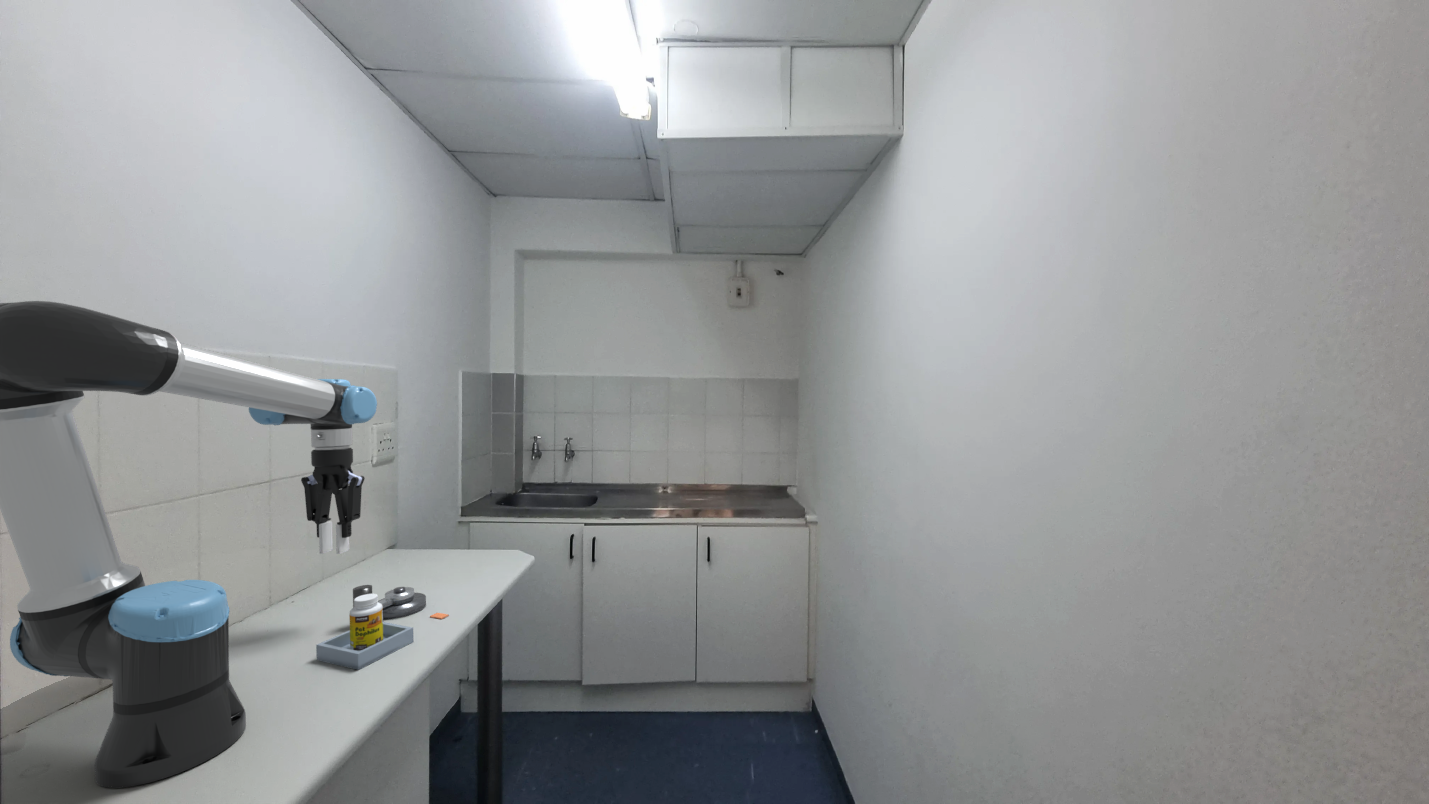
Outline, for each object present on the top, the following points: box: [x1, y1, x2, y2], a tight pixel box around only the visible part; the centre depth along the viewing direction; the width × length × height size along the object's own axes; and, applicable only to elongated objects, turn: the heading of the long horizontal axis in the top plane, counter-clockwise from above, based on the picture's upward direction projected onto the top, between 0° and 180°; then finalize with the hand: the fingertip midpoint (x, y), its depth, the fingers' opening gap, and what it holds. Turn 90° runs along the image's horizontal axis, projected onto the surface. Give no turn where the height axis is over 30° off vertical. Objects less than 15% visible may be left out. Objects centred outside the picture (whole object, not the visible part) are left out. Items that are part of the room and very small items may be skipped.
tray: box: [315, 621, 414, 671], centre depth 104 cm, size 12×12×3 cm
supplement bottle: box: [349, 593, 384, 651], centre depth 104 cm, size 6×6×10 cm
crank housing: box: [378, 592, 427, 621], centre depth 124 cm, size 11×11×2 cm
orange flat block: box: [429, 612, 450, 620], centre depth 120 cm, size 2×4×1 cm, turn 70°
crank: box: [352, 584, 415, 608], centre depth 120 cm, size 14×6×6 cm, turn 160°
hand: (334, 551), depth 116 cm, fingers open, 3 cm apart
